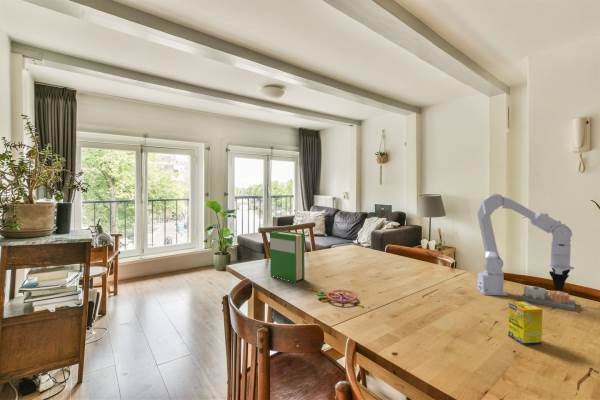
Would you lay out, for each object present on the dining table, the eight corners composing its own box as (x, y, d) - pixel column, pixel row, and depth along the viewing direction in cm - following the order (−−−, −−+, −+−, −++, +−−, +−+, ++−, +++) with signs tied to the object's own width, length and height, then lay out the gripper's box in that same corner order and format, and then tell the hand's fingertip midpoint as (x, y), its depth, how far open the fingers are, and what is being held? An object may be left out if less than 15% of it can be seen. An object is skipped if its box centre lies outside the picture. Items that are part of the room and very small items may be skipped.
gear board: (521, 300, 122) (522, 287, 121) (525, 293, 129) (525, 282, 128) (574, 311, 110) (574, 297, 110) (575, 303, 117) (575, 290, 117)
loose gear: (556, 302, 115) (556, 295, 115) (546, 297, 120) (546, 290, 120) (573, 303, 114) (573, 296, 114) (562, 298, 119) (562, 291, 119)
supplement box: (507, 335, 93) (508, 301, 92) (525, 334, 93) (525, 301, 93) (523, 345, 87) (524, 309, 86) (542, 344, 87) (542, 308, 87)
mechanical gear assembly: (352, 313, 111) (373, 303, 121) (352, 302, 111) (373, 293, 121) (297, 294, 132) (319, 287, 142) (297, 284, 132) (319, 278, 142)
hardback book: (304, 279, 152) (304, 233, 151) (295, 283, 146) (294, 235, 145) (280, 273, 163) (279, 230, 162) (270, 276, 157) (269, 232, 156)
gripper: (573, 259, 108) (572, 295, 109) (575, 253, 119) (573, 286, 119) (548, 256, 113) (547, 290, 114) (552, 250, 124) (551, 282, 124)
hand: (559, 288), depth 117 cm, fingers open, 7 cm apart
